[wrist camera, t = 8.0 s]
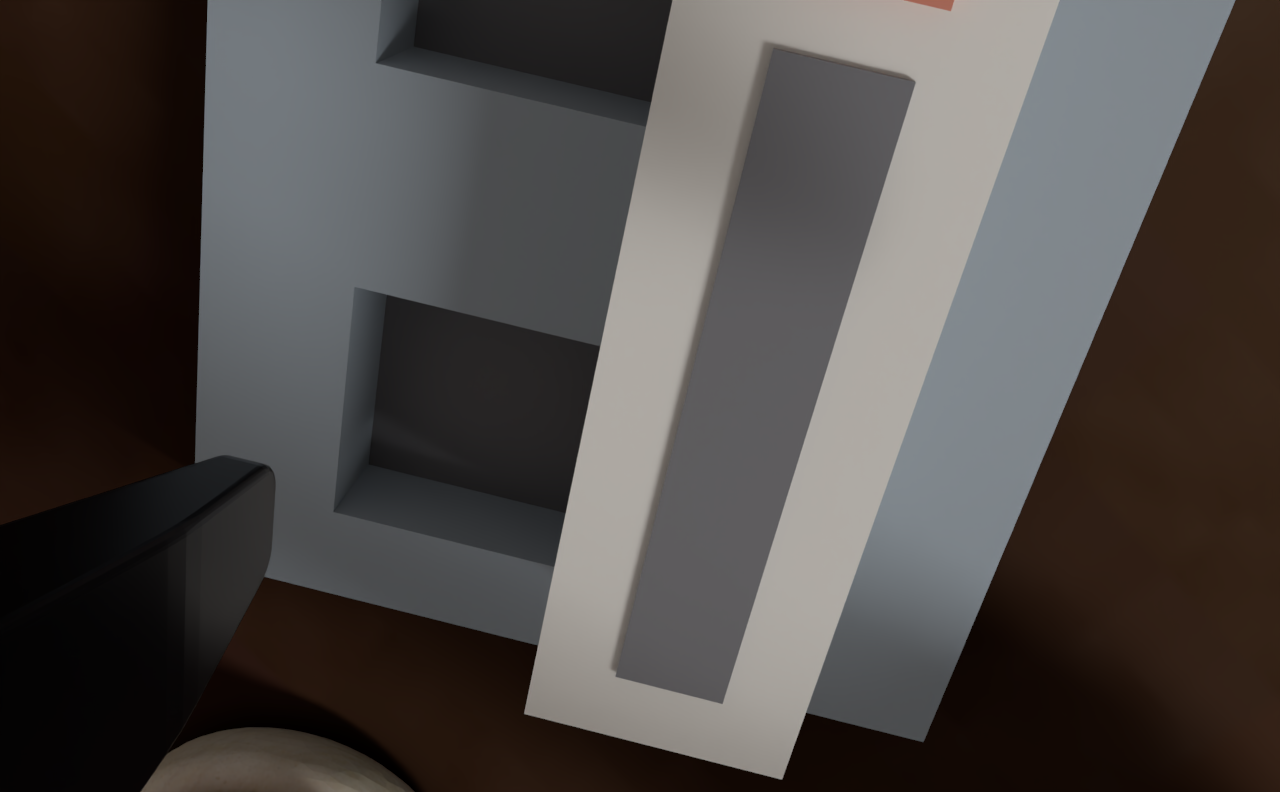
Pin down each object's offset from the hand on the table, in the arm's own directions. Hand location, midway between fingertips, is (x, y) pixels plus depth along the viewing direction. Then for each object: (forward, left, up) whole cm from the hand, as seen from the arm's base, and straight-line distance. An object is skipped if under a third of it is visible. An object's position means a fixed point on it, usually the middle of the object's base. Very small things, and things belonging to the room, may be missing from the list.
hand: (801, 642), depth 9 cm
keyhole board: (0, +3, -11) cm, 11 cm away
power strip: (0, +1, -10) cm, 11 cm away
